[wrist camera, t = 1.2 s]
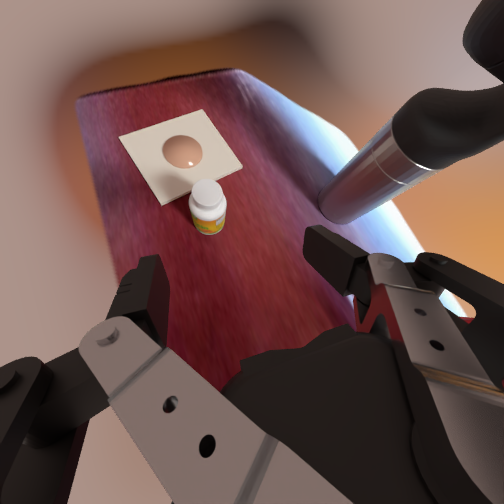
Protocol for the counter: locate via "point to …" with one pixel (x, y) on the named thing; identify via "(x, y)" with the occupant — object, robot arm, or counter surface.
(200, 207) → the supplement bottle
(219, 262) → the counter surface
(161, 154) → the mat
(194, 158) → the coaster
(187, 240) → the counter surface
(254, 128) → the counter surface
